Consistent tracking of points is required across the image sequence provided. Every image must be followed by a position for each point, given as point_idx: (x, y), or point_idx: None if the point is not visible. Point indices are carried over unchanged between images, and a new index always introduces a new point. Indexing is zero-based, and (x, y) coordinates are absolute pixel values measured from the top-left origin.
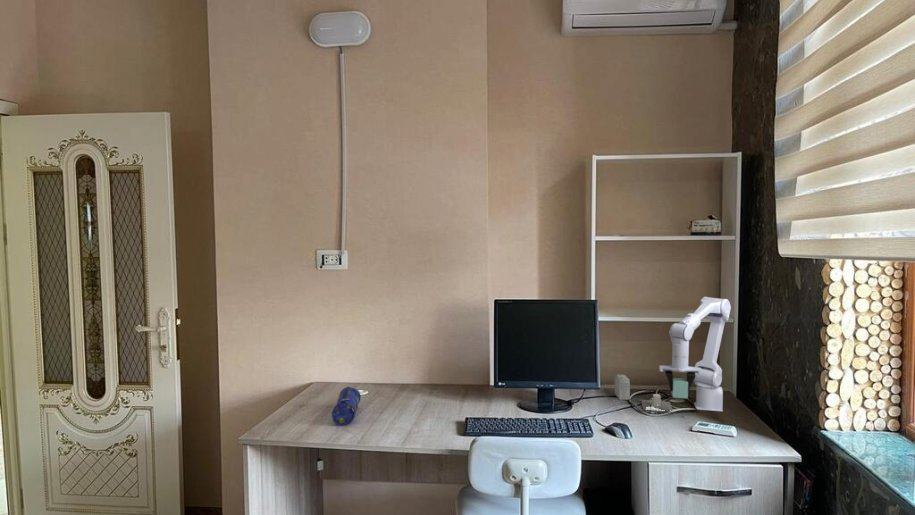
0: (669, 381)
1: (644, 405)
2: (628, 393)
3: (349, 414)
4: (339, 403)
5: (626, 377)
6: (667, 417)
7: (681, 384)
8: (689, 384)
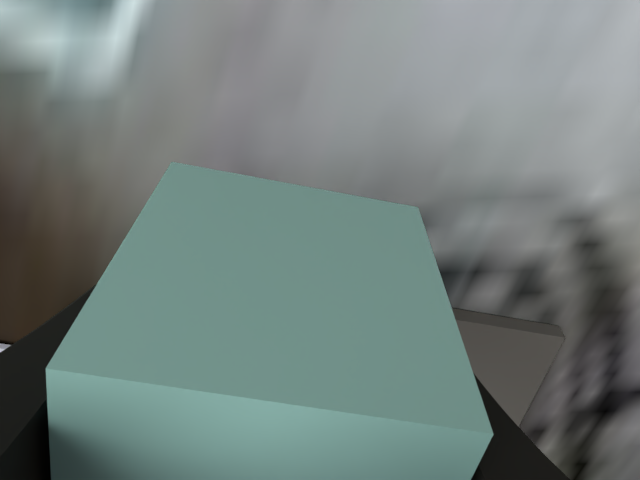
0: (555, 469)
1: (514, 401)
2: None
3: None
4: None
5: None
6: (404, 166)
7: (261, 342)
8: (34, 364)
